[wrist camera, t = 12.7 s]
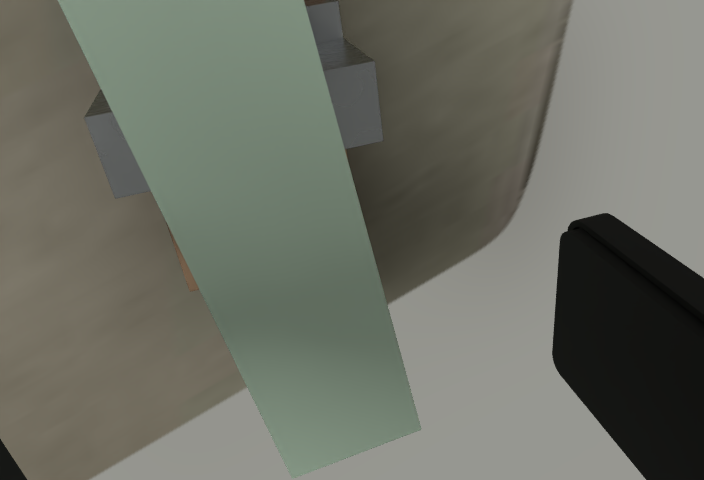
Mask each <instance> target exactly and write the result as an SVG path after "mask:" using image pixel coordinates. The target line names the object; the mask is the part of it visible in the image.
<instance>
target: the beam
mask: <svg viewBox="0 0 704 480" xmlns="http://www.w3.org/2000/svg"><path fill="white" fill-rule="evenodd" d="M58 2H59V4H60V6H61V8H62V10H63V12H64V14H65V16H66V18H67V20H68V22H69V24H70V26H71V28H72V30H73V32H74V35H75V37H76V39H77V41H78V43H79V45H80V47H81V49H82V51H83V53H84V55H85V57H86V59H87V61H88V63H89V65H90V67H91V69H92V71H93V73H94V75H95V77H96V79H97V81H98V84H99V86H100V88H101V90H102V92H103V94H104V96H105V98H106V100H107V102H108V104H109V106H110V108H111V110H112V112H113V114H114V116H115V118H116V120H117V122H118V124H119V126H120V128H121V130H122V132H123V135H124V137H125V139H126V141H127V143H128V145H129V147H130V149H131V151H132V153H133V155H134V157H135V159H136V161H137V163H138V165H139V167H140V169H141V171H142V173H143V175H144V177H145V179H146V181H147V183H148V186H149V188H150V190H151V192H152V194H153V196H154V198H155V200H156V202H157V204H158V206H159V208H160V210H161V212H162V214H163V216H164V218H165V220H166V222H167V224H168V226H169V228H170V230H171V232H172V234H173V237H174V239H175V241H176V243H177V245H178V247H179V249H180V251H181V253H182V255H183V257H184V259H185V261H186V263H187V265H188V267H189V269H190V271H191V273H192V275H193V277H194V279H195V281H196V283H197V285H198V288H199V290H200V292H201V294H202V296H203V298H204V300H205V302H206V304H207V306H208V308H209V310H210V312H211V314H212V316H213V318H214V320H215V322H216V324H217V326H218V328H219V330H220V332H221V334H222V337H223V339H224V341H225V343H226V345H227V347H228V349H229V351H230V353H231V355H232V357H233V359H234V361H235V363H236V365H237V367H238V369H239V371H240V373H241V375H242V377H243V379H244V381H245V383H246V385H247V388H248V390H249V392H250V393H251V396H252V398H253V400H254V401H255V404H256V406H257V408H258V410H259V412H260V414H261V416H262V418H263V420H264V422H265V424H266V426H267V428H268V430H269V432H270V434H271V436H272V439H273V441H274V443H275V445H276V447H277V449H278V451H279V453H280V455H281V457H282V459H283V461H284V463H285V465H286V467H287V469H288V471H289V473H290V475H291V477H292V478H296V477H298V476H301V475H303V474H306V473H309V472H312V471H314V470H317V469H319V468H322V467H325V466H327V465H330V464H333V463H335V462H338V461H340V460H343V459H346V458H348V457H351V456H353V455H356V454H359V453H361V452H364V451H367V450H369V449H372V448H374V447H377V446H380V445H382V444H384V443H387V442H390V441H393V440H395V439H398V438H400V437H403V436H406V435H408V434H411V433H414V432H416V431H419V430H421V426H420V422H419V419H418V415H417V411H416V408H415V404H414V400H413V397H412V393H411V389H410V386H409V382H408V379H407V375H406V371H405V368H404V364H403V360H402V357H401V353H400V350H399V346H398V342H397V338H396V335H395V331H394V327H393V324H392V320H391V317H390V313H389V309H388V306H387V302H386V298H385V295H384V291H383V287H382V284H381V280H380V276H379V273H378V269H377V265H376V262H375V258H374V254H373V251H372V247H371V244H370V240H369V236H368V233H367V229H366V225H365V222H364V218H363V214H362V211H361V207H360V203H359V200H358V196H357V192H356V189H355V185H354V182H353V178H352V174H351V171H350V167H349V163H348V160H347V156H346V152H345V149H344V145H343V141H342V138H341V134H340V130H339V127H338V123H337V119H336V116H335V112H334V109H333V105H332V101H331V98H330V94H329V90H328V87H327V83H326V79H325V76H324V72H323V68H322V65H321V61H320V57H319V54H318V50H317V46H316V43H315V39H314V36H313V32H312V28H311V25H310V21H309V17H308V14H307V10H306V6H305V3H304V0H58Z"/></svg>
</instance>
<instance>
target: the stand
mask: <svg viewBox="0 0 704 480" xmlns="http://www.w3.org/2000/svg"><path fill="white" fill-rule="evenodd" d="M304 3H305V6H306V10H307V14H308V17H309V21H310V25H311V28H312V32H313V36H314V39H315V43H316V46H317V50H318V54H319V57H320V61H321V65H322V68H323V72H324V76H325V79H326V83H327V87H328V90H329V94H330V98H331V101H332V105H333V109H334V112H335V116H336V119H337V123H338V127H339V130H340V134H341V138H342V141H343V145H344V149H345V152H346V156H347V149H348V148H353V147H357V146H362V145H367V144H371V143H376V142H380V141H383V133H382V124H381V115H380V106H379V96H378V87H377V78H376V69H375V61H374V60H372V59H371V58H370V57H368V56H367V55H366V54H364V53H363V52H361V51H360V50H359V49H357V48H356V47H355V46H353V45H352V44H350V43H349V42H348V41H346V40H345V39H344V38H343V34H342V26H341V19H340V11H339V4H338V1H337V0H304ZM84 118H85V121H86V123H87V126H88V129H89V131H90V134H91V136H92V139H93V142H94V144H95V147H96V150H97V152H98V155H99V157H100V160H101V163H102V165H103V168H104V170H105V173H106V176H107V178H108V181H109V184H110V186H111V189H112V191H113V194H114V197H115V199H116V198H121V197H125V196H130V195H135V194H139V193H144V192H148V191H151V190H150V188H149V186H148V183H147V181H146V179H145V177H144V175H143V173H142V171H141V169H140V167H139V165H138V163H137V161H136V159H135V157H134V155H133V153H132V151H131V149H130V147H129V145H128V143H127V141H126V139H125V137H124V135H123V132H122V130H121V128H120V126H119V124H118V122H117V120H116V118H115V116H114V114H113V112H112V110H111V108H110V106H109V104H108V102H107V100H106V98H105V96H104V94H103V92H102V90H100V91H99V93H98V95H97V97H96V98H95V100H94V102H93V103H92V105H91V107H90V109H89V110H88V112H87V114H86V115H85V117H84ZM347 160H348V156H347ZM166 223H167V222H166ZM167 226H168V224H167ZM168 229H169V232H170V235H171V238H172V240H173V243H174V246H175V249H176V252H177V255H178V258H179V261H180V264H181V267H182V270H183V273H184V276H185V279H186V282H187V285H188V288H189V290H190V292H191V291H195V290H199V288H198V285H197V283H196V281H195V279H194V277H193V275H192V273H191V271H190V269H189V267H188V265H187V263H186V261H185V259H184V257H183V255H182V253H181V251H180V249H179V247H178V245H177V243H176V241H175V239H174V237H173V234H172V232H171V230H170V228H169V226H168Z"/></svg>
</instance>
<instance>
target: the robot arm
mask: <svg viewBox="0 0 704 480" xmlns="http://www.w3.org/2000/svg"><path fill="white" fill-rule="evenodd" d="M556 292H557V293H556V307H555V322H554V336H553V351H552V355H553V361H554V364H555V367H556V369H557V371H558V372H559V374H560V375H561V376H562V378H563V379H564V380H565V381H566V382H567V384H568V385H569V386H570V387H571V389H572V390H573V391H574V392H575V393H576V395H577V396H578V397H579V398H580V400H581V401H582V402H583V403H584V404H585V405H586V406H587V408H588V409H589V410H590V412H591V413H592V414H593V415H594V417H595V418H596V419H597V420H598V421H599V423H600V424H601V425H602V426H603V428H604V429H605V430H606V431H607V432H608V434H609V435H610V436H611V437H612V438H613V440H614V441H615V442H616V443H617V445H618V446H619V447H620V448H621V449H622V451H623V452H624V453H625V454H626V456H627V457H628V458H629V459H630V460H631V462H632V463H633V464H634V465H635V467H636V468H637V469H638V470H639V471H640V473H641V474H642V475H643V476H644V477H645V479H646V480H704V278H703V277H701V276H700V275H698V274H697V273H695V272H694V271H692V270H691V269H689V268H688V267H687V266H685V265H683V264H682V263H681V262H679V261H678V260H676V259H675V258H674V257H672V256H671V255H669V254H668V253H666V252H665V251H663V250H662V249H661V248H659V247H658V246H656V245H655V244H653V243H652V242H650V241H649V240H647V239H646V238H645V237H643V236H642V235H640V234H639V233H637V232H636V231H634V230H633V229H631V228H630V227H628V226H627V225H626V224H624V223H623V222H621V221H620V220H618V219H617V218H615V217H614V216H612V215H610V214H608V213H603V214H599V215H595V216H591V217H587V218H583V219H579V220H575V221H573V222H571V224H570V225H569V227H568V231H567V232H564V233H563V234H562V236H561V238H560V249H559V263H558V277H557V291H556ZM0 480H27V479H26V477H25V476H24V474H23V473H22V471H21V470H20V468H19V467H18V465H17V464H16V462H15V461H14V459H13V458H12V456H11V455H10V453H9V452H8V450H7V448H6V447H5V445H4V444H3V442H2V441H1V439H0Z"/></svg>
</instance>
